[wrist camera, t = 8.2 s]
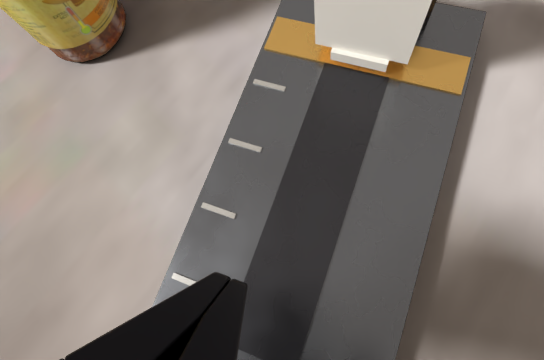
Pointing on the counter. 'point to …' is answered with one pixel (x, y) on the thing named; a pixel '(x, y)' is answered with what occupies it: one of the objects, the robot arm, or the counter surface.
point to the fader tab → (369, 30)
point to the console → (329, 188)
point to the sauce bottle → (70, 25)
